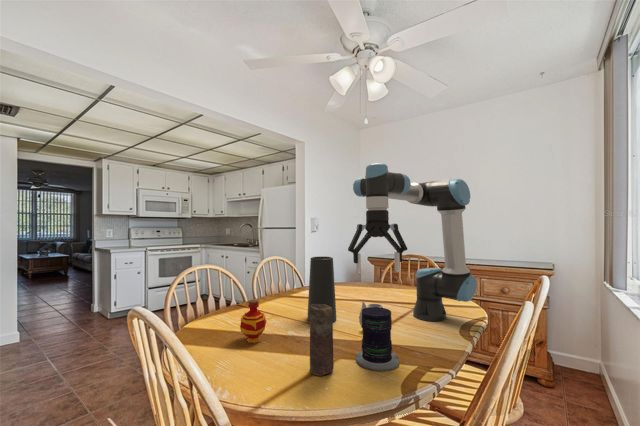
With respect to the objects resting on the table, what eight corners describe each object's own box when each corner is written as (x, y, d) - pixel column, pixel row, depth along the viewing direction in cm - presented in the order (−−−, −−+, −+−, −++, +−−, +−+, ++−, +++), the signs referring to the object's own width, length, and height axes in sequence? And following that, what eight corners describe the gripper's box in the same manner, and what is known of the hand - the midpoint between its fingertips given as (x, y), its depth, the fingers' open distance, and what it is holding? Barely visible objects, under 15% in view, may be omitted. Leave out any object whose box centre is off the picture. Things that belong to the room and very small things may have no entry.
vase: (302, 322, 140) (302, 258, 141) (314, 313, 153) (314, 255, 154) (330, 325, 135) (330, 260, 136) (340, 316, 148) (340, 256, 149)
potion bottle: (271, 336, 122) (271, 299, 123) (258, 346, 113) (258, 305, 113) (248, 333, 126) (248, 297, 126) (233, 343, 116) (233, 303, 116)
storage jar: (386, 366, 94) (385, 317, 95) (356, 359, 99) (356, 312, 100) (396, 354, 103) (395, 309, 103) (368, 348, 108) (368, 305, 108)
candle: (309, 365, 98) (309, 302, 99) (331, 364, 99) (331, 301, 99) (310, 377, 90) (310, 309, 91) (335, 376, 91) (334, 308, 92)
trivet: (389, 350, 109) (389, 347, 109) (406, 369, 95) (406, 365, 95) (351, 353, 107) (351, 349, 107) (362, 372, 93) (362, 368, 93)
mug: (388, 330, 130) (387, 301, 130) (364, 334, 125) (364, 304, 125) (377, 324, 137) (377, 297, 137) (354, 328, 132) (354, 300, 132)
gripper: (407, 209, 110) (408, 269, 110) (339, 210, 106) (339, 271, 106) (416, 209, 103) (417, 272, 102) (343, 209, 99) (344, 275, 99)
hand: (378, 272), depth 104 cm, fingers open, 13 cm apart
